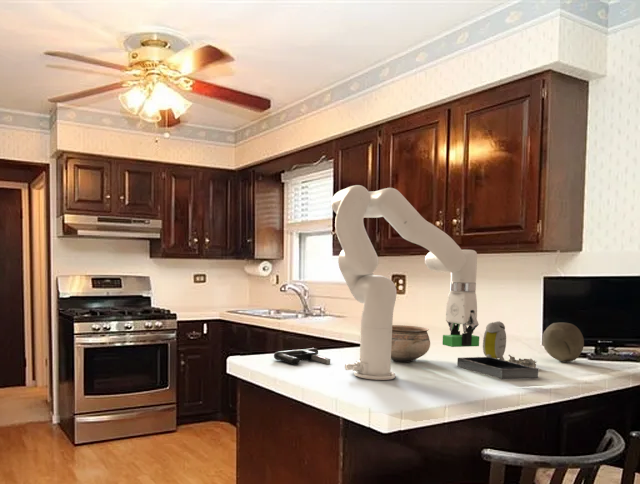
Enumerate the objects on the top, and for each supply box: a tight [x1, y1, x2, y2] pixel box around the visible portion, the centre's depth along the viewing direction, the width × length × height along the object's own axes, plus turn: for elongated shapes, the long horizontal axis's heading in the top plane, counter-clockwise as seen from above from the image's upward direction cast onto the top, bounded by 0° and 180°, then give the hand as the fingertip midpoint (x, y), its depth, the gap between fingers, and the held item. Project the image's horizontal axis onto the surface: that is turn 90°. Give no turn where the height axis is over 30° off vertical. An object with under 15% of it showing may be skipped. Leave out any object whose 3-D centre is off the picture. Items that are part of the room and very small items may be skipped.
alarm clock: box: [482, 320, 507, 360], centre depth 201 cm, size 12×7×15 cm, turn 139°
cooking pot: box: [391, 324, 431, 363], centre depth 199 cm, size 25×19×12 cm
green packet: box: [442, 334, 480, 348], centre depth 174 cm, size 10×5×3 cm, turn 105°
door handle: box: [273, 347, 331, 366], centre depth 193 cm, size 3×20×16 cm
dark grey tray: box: [456, 356, 539, 380], centre depth 179 cm, size 14×22×4 cm, turn 14°
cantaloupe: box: [542, 322, 585, 363], centre depth 206 cm, size 14×14×15 cm
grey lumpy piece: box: [508, 354, 537, 368], centre depth 189 cm, size 11×8×4 cm
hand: (460, 343), depth 174 cm, fingers closed on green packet, 5 cm apart
